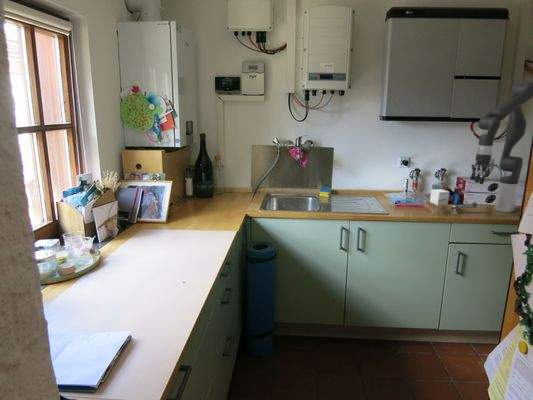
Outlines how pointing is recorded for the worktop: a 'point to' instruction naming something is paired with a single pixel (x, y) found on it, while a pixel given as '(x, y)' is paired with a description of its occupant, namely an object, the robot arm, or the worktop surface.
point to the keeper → (439, 208)
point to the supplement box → (439, 197)
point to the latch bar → (465, 206)
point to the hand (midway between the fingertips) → (479, 183)
